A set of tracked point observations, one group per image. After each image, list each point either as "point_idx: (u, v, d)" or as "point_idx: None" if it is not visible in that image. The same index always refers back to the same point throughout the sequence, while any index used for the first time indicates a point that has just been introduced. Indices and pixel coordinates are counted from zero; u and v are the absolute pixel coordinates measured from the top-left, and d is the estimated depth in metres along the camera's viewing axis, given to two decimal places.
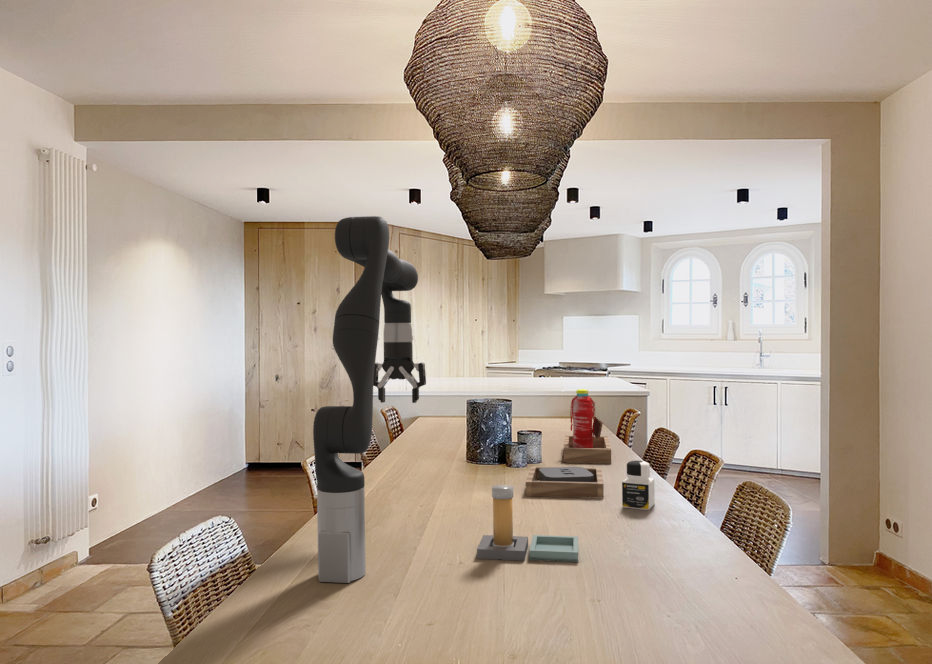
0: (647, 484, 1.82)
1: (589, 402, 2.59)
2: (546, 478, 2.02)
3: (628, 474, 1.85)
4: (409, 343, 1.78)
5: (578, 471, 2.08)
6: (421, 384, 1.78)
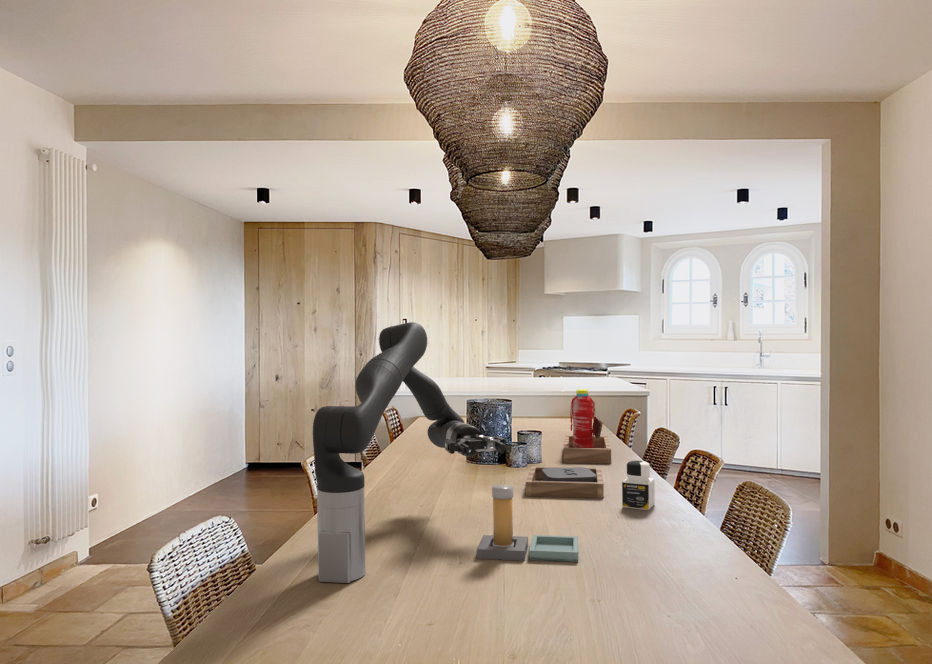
0: (647, 484, 1.82)
1: (589, 402, 2.59)
2: (549, 478, 2.02)
3: (628, 474, 1.85)
4: None
5: (581, 471, 2.08)
6: (503, 439, 1.66)
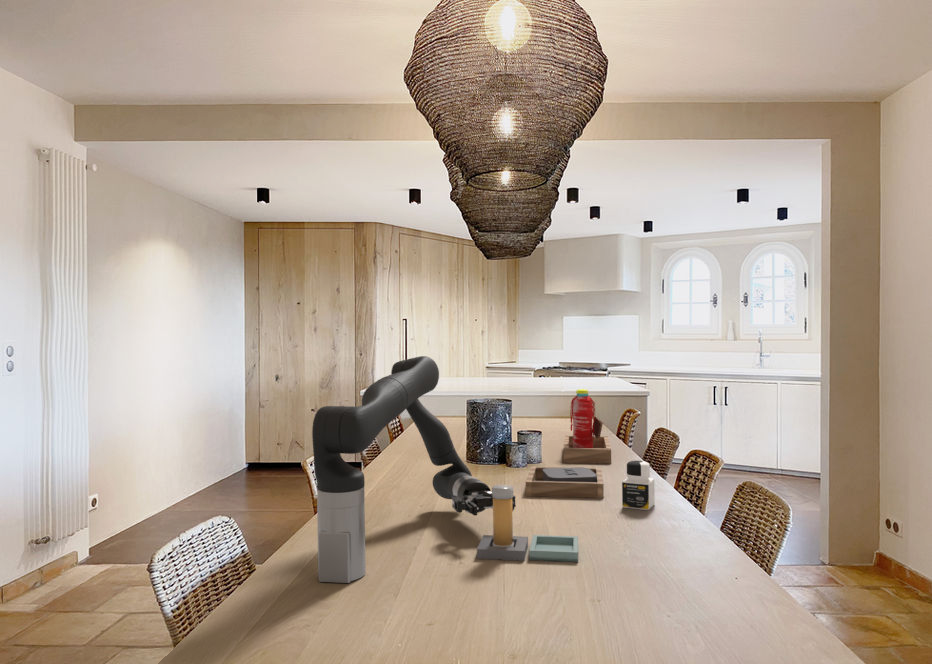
0: (647, 484, 1.82)
1: (589, 402, 2.59)
2: (549, 478, 2.02)
3: (628, 474, 1.85)
4: None
5: (582, 472, 2.08)
6: None
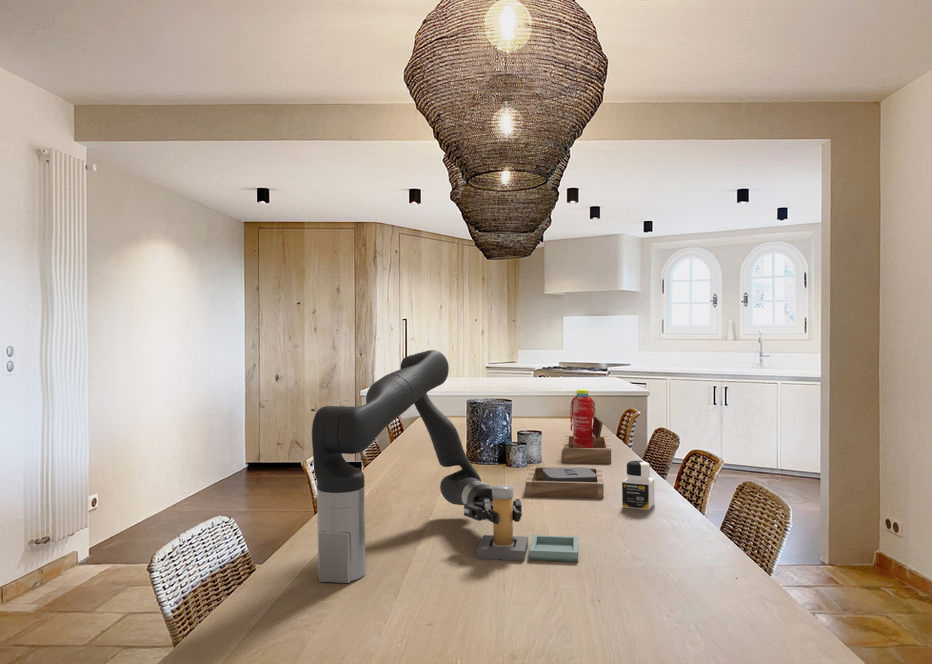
0: (647, 484, 1.82)
1: (589, 402, 2.59)
2: (549, 478, 2.01)
3: (628, 474, 1.85)
4: None
5: (582, 472, 2.08)
6: (519, 505, 1.52)
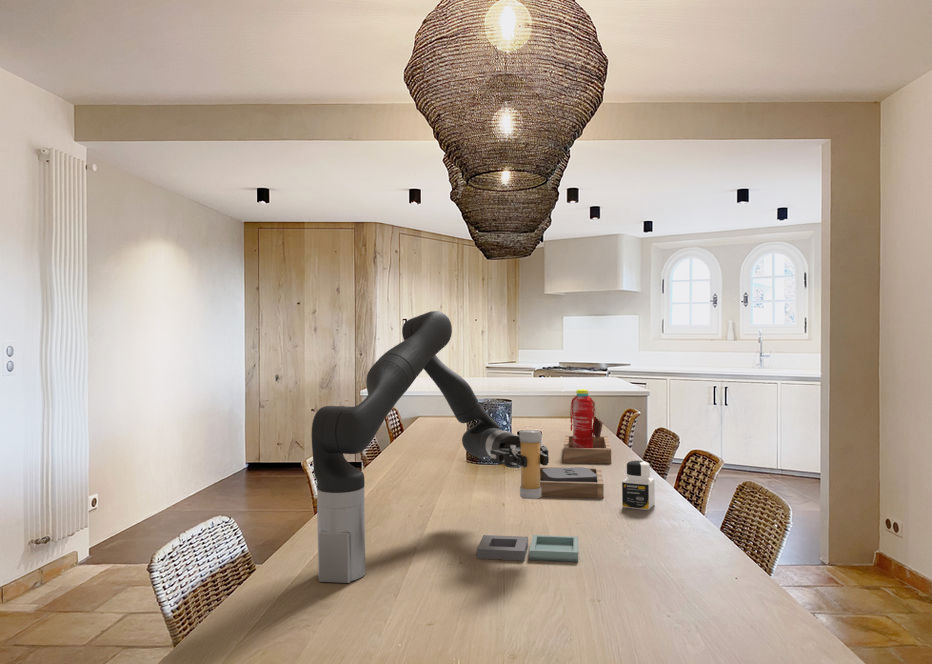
0: (647, 484, 1.82)
1: (589, 402, 2.59)
2: (549, 479, 2.01)
3: (628, 474, 1.85)
4: None
5: (582, 472, 2.07)
6: (545, 450, 1.53)
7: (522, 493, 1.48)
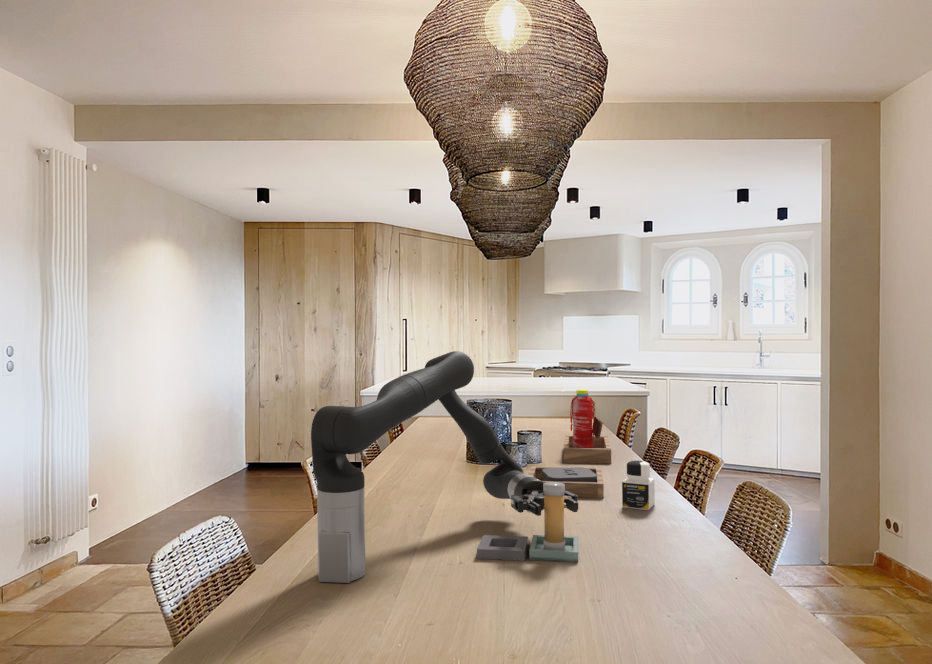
0: (647, 484, 1.82)
1: (589, 402, 2.59)
2: (549, 479, 2.01)
3: (628, 474, 1.85)
4: None
5: (582, 472, 2.08)
6: (575, 495, 1.53)
7: (546, 547, 1.47)
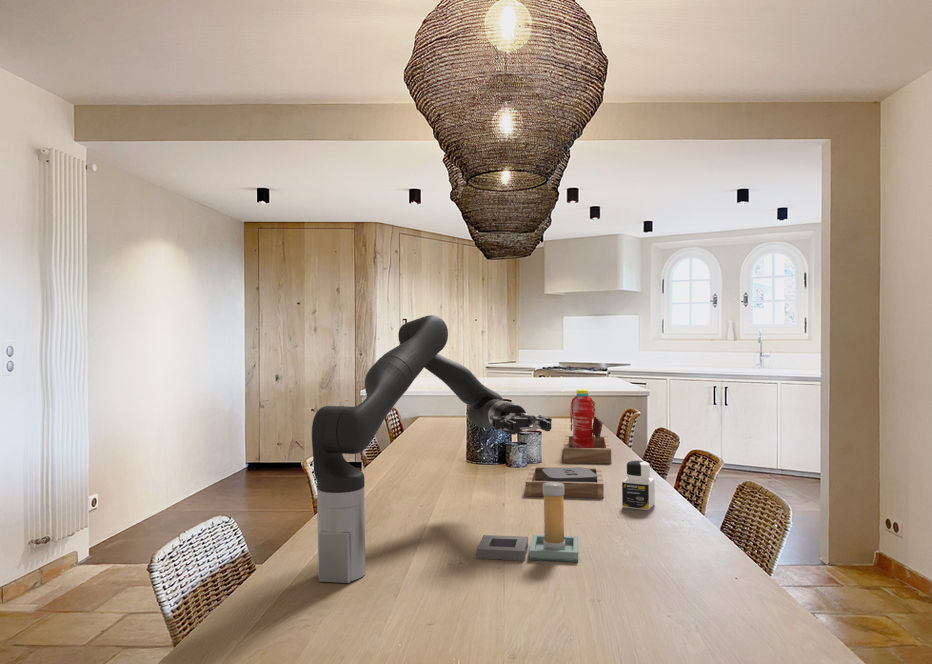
0: (647, 484, 1.82)
1: (589, 402, 2.59)
2: (549, 479, 2.01)
3: (628, 474, 1.85)
4: None
5: (582, 472, 2.07)
6: (549, 418, 1.65)
7: (546, 547, 1.47)
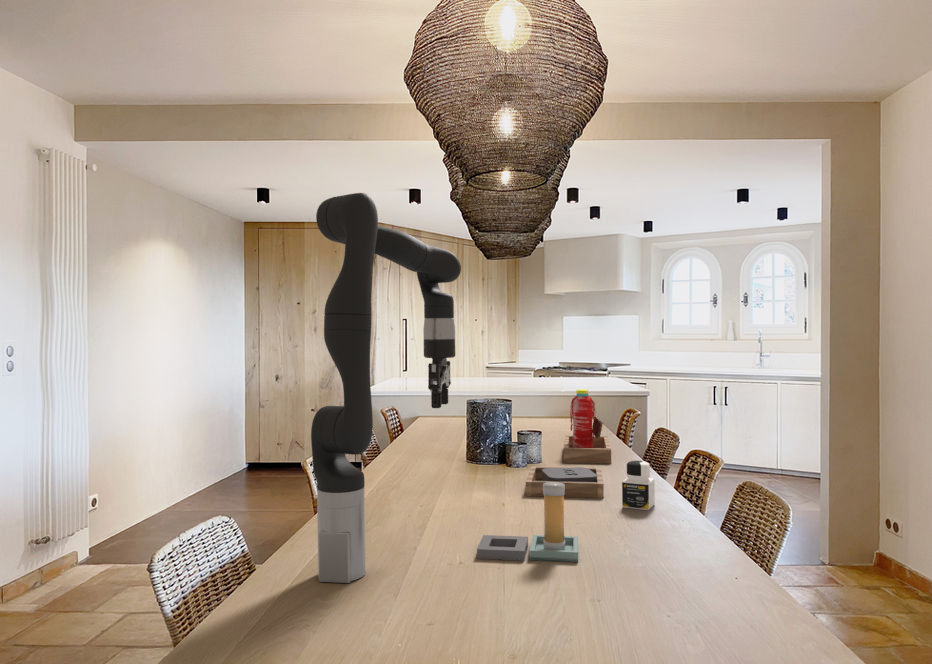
0: (647, 484, 1.82)
1: (589, 402, 2.59)
2: (550, 479, 2.01)
3: (628, 474, 1.85)
4: None
5: (581, 472, 2.08)
6: (450, 383, 1.69)
7: (546, 547, 1.47)
